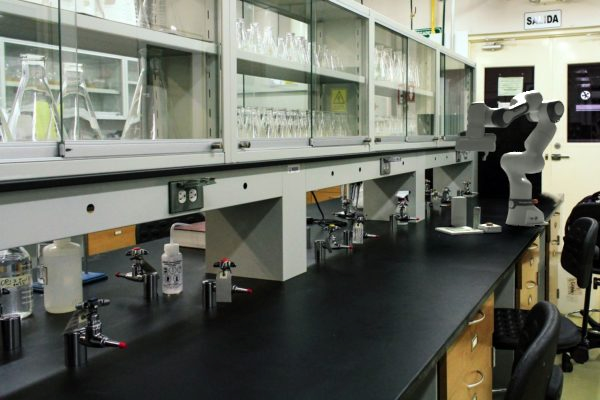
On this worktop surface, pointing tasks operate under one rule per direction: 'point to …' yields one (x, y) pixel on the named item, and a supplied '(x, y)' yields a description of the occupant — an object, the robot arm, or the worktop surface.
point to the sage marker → (476, 217)
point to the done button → (489, 224)
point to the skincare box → (458, 211)
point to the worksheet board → (459, 230)
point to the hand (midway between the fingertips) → (474, 160)
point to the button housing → (489, 228)
